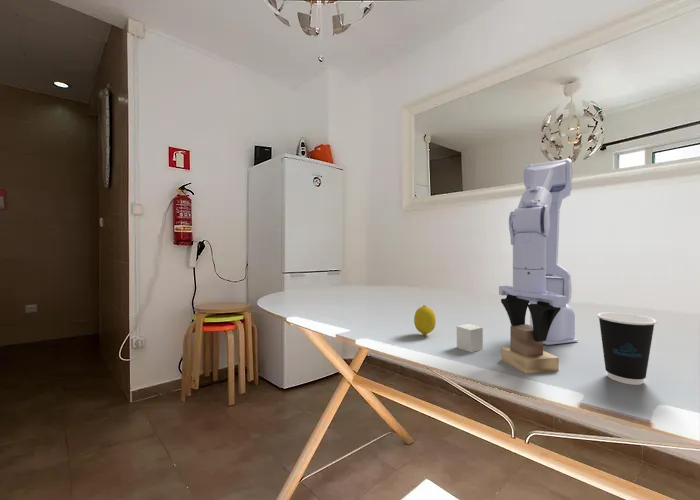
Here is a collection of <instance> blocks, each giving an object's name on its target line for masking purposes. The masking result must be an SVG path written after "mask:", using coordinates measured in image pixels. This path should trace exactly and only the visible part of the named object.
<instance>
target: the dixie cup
mask: <svg viewBox="0 0 700 500" xmlns="http://www.w3.org/2000/svg"><path fill="white" fill-rule="evenodd" d="M596 316H597V318H598V320H599V326H600V327H599V329H600V337H601V344H602V345H601V346H602V351H603V352H602V353H603V360H604V368H605V371H606V373H607V377H608V378H609V379H611V380H613V381H616V382H619V383H621V384H626V385H635V386H639V385H643V384H644V381H645V379H646V377H647V372H648V366H649V364H648V363H649V359H650V351H651V348H652V341H653V334H654V327H655V325H656V324H657V319H654V318H652V317H649V316H646V315H645V316H644V315H640V314H639V315H638V314H634V313H633V314H632V313H626V312H625V313H624V312H613V311H611V312H610V311H609V312H608V311H607V312H599V313H597V315H596Z"/></svg>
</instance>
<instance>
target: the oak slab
mask: <svg viewBox="0 0 700 500" xmlns="http://www.w3.org/2000/svg"><path fill="white" fill-rule="evenodd" d="M501 361H503V362H505V363H506V364H508V365H510V366H512V367H514V368H515V369H517V370H519V371H521V372H522V373H524V374H535V373H536V374H537V373H546V372H557V371H560V370H559V366H560V365H559V361H560V358H559V357H558V356H556V355H554V354H552V353H549V352H547V351H545V350H543V355H539V356H531V357H525V356H522V355H520V354H518V353H516V352H513V351H511V350H510V346H508V347H501Z"/></svg>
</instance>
